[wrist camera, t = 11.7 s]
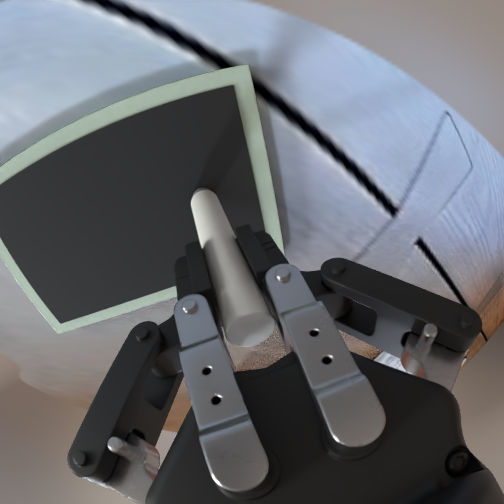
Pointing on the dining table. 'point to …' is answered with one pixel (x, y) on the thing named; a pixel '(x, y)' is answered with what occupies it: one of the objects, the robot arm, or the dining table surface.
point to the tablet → (132, 195)
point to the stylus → (230, 275)
